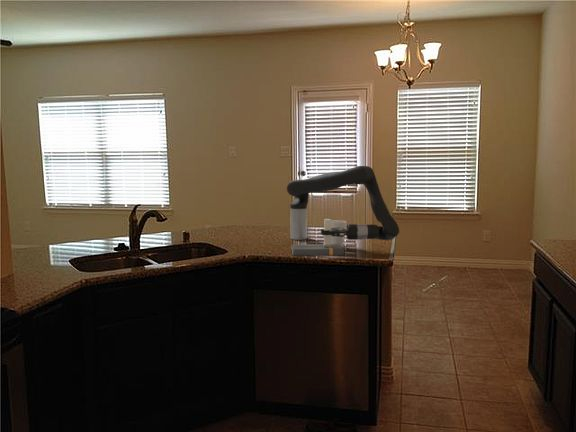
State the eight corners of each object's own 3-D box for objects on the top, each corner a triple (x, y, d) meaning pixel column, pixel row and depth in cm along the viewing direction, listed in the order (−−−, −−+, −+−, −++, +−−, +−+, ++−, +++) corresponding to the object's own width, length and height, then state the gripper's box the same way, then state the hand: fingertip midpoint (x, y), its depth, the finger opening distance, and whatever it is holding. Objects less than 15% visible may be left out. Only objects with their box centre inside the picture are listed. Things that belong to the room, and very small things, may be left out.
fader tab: (324, 246, 227) (324, 219, 225) (323, 245, 231) (323, 218, 229) (331, 246, 227) (332, 219, 225) (330, 244, 231) (330, 218, 230)
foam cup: (348, 245, 247) (348, 220, 246) (344, 248, 239) (344, 223, 237) (330, 244, 250) (330, 220, 249) (325, 247, 242) (326, 222, 240)
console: (293, 255, 222) (293, 249, 222) (291, 250, 234) (291, 244, 234) (343, 255, 224) (343, 248, 223) (339, 250, 236) (339, 243, 235)
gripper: (354, 222, 235) (319, 222, 234) (360, 226, 221) (323, 226, 220) (354, 237, 236) (319, 237, 235) (359, 242, 222) (323, 242, 221)
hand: (321, 232), depth 228 cm, fingers closed on fader tab, 3 cm apart
